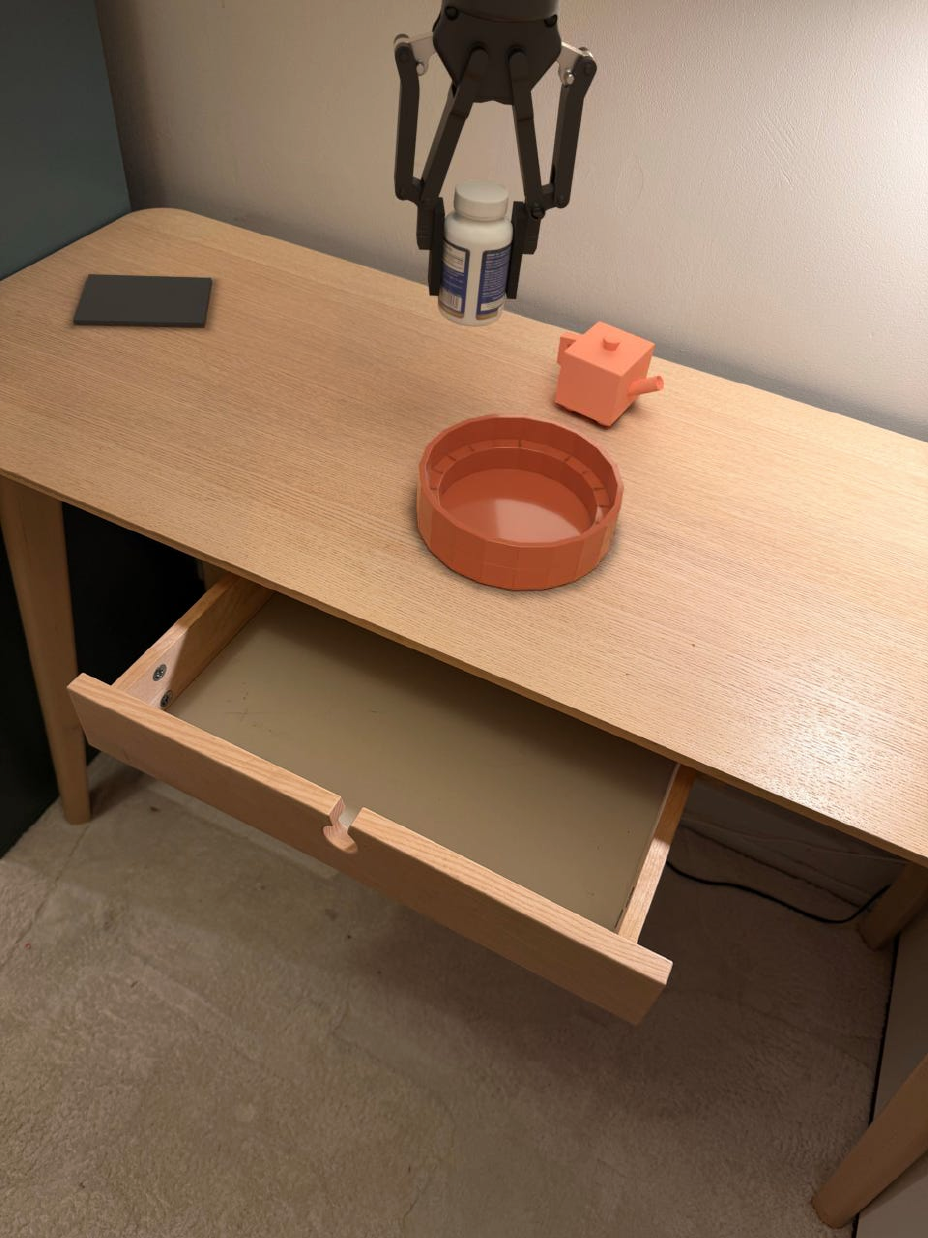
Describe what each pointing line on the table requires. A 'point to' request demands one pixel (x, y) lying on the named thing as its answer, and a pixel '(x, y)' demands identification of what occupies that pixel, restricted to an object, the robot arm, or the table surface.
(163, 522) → the table surface
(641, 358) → the pink cube teapot
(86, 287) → the mat
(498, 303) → the pill bottle
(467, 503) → the bowl
